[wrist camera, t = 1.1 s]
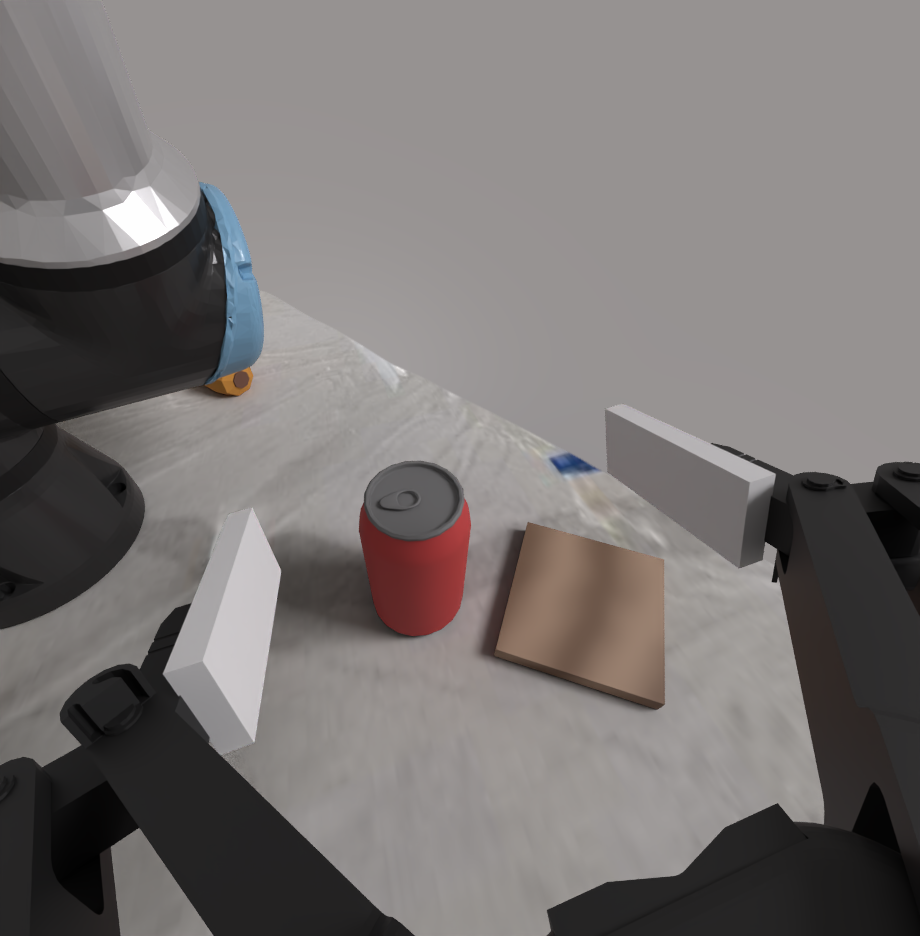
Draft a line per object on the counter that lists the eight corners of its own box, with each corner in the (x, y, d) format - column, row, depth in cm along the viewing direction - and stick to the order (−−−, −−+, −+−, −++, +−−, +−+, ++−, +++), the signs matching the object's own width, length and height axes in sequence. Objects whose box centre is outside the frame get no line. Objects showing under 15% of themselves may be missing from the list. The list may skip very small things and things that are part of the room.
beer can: (368, 567, 35) (348, 462, 26) (450, 550, 36) (457, 446, 28) (380, 649, 31) (360, 558, 22) (472, 627, 32) (488, 533, 23)
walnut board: (493, 655, 31) (495, 649, 30) (525, 530, 38) (527, 522, 37) (657, 709, 29) (664, 704, 28) (658, 567, 36) (664, 559, 35)
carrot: (260, 396, 50) (259, 355, 48) (223, 404, 46) (220, 360, 44) (149, 355, 57) (144, 318, 55) (110, 359, 53) (103, 320, 51)
